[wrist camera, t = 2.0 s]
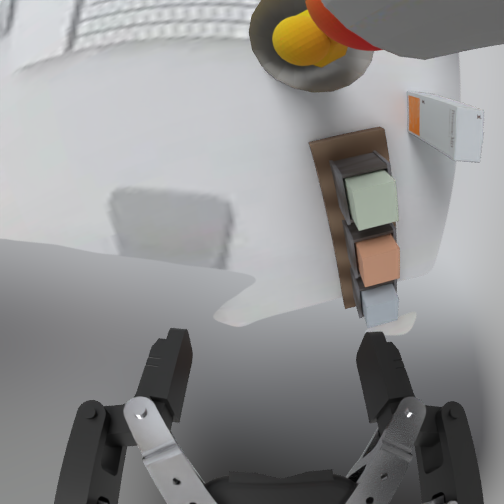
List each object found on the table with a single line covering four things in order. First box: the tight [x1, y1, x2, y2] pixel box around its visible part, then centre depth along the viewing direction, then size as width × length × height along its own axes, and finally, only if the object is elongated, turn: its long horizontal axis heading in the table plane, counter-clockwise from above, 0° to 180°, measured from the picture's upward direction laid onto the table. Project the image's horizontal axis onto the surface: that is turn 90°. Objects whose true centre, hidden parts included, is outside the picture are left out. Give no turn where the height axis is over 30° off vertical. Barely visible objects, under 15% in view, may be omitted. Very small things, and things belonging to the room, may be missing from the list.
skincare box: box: [407, 91, 484, 163], centre depth 25 cm, size 6×4×12 cm
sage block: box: [342, 169, 399, 231], centre depth 31 cm, size 5×5×6 cm
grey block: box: [360, 283, 399, 328], centre depth 40 cm, size 5×5×6 cm
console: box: [309, 127, 397, 318], centre depth 38 cm, size 30×10×6 cm, turn 19°
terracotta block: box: [354, 234, 400, 287], centre depth 36 cm, size 5×5×6 cm
